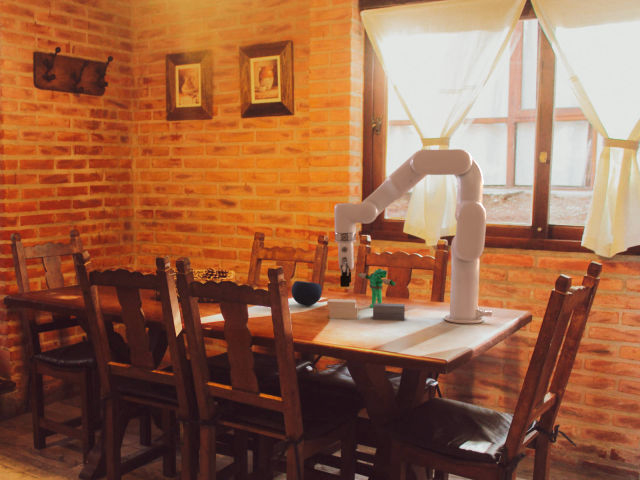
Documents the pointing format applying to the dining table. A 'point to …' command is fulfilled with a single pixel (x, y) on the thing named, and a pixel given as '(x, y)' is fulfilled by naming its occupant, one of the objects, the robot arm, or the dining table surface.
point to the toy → (377, 284)
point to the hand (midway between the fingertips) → (345, 284)
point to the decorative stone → (306, 292)
